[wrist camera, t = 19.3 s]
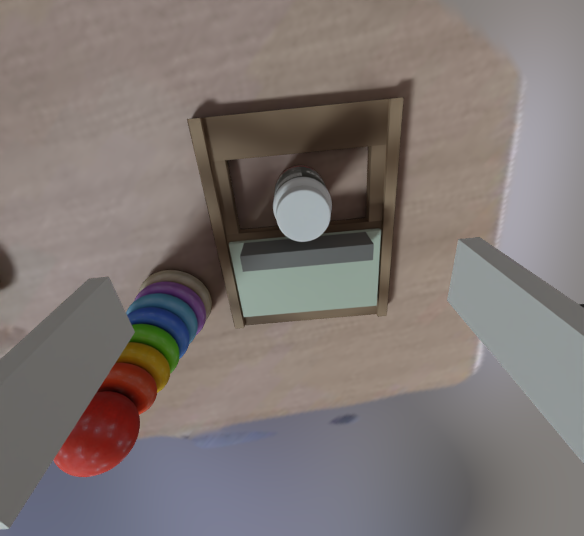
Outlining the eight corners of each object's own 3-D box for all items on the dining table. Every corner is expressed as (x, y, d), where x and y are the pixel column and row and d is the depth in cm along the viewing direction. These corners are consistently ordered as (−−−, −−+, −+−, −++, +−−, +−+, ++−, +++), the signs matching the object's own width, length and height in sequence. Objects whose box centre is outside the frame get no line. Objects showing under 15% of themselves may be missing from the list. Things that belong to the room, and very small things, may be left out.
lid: (229, 241, 30) (223, 257, 27) (379, 228, 30) (390, 242, 26) (244, 313, 34) (240, 335, 31) (375, 302, 34) (384, 322, 31)
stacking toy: (166, 253, 32) (39, 408, 15) (226, 294, 34) (174, 464, 18) (130, 299, 34) (-11, 474, 18) (189, 334, 37) (113, 514, 21)
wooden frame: (190, 118, 26) (185, 119, 24) (398, 97, 25) (405, 97, 24) (235, 319, 36) (233, 329, 35) (383, 306, 36) (388, 315, 34)
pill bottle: (332, 197, 29) (348, 227, 22) (291, 221, 30) (293, 257, 23) (308, 154, 27) (317, 170, 20) (265, 181, 29) (259, 207, 21)
